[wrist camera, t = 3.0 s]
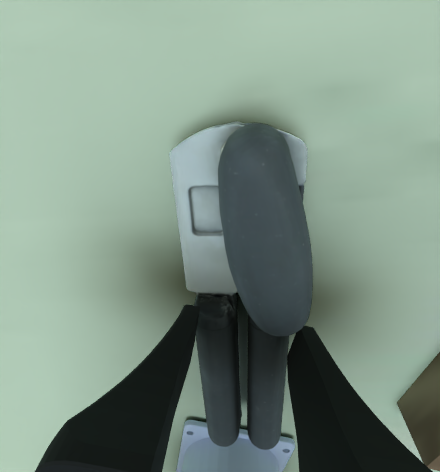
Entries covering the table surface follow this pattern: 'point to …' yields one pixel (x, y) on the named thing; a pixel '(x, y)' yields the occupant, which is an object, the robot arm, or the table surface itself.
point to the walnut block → (424, 413)
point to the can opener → (244, 266)
